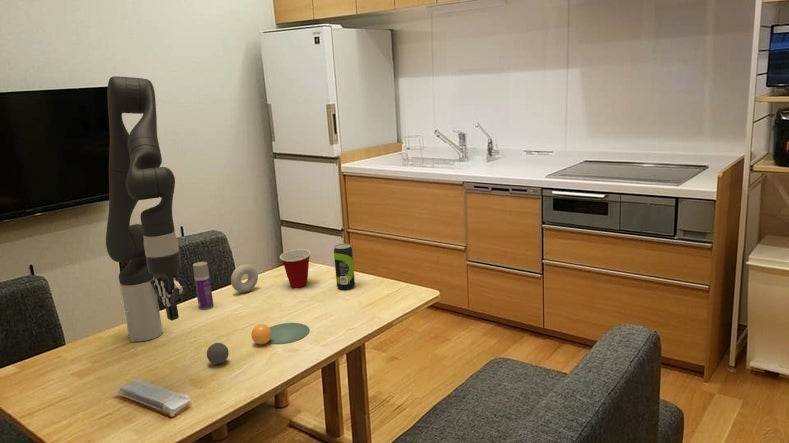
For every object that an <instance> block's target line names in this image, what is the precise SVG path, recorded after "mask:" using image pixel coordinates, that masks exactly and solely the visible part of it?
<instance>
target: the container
mask: <svg viewBox="0 0 789 443" xmlns="http://www.w3.org/2000/svg"><path fill="white" fill-rule="evenodd" d="M192 268H193V276H194V277H193V278H194V279H193V280H194V283H195V284H194V286H195V290H196V291H195V292H196V297H197V298H196V299H197V305H198V310H201V311H207V310H210V309H212V308H214V299H213V293H212V292H213V291H212V284H211V277H210V272H209V266H208V262H207V261H198V262H195V263H193V264H192Z"/></svg>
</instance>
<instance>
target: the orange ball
mask: <svg viewBox="0 0 789 443" xmlns="http://www.w3.org/2000/svg"><path fill="white" fill-rule="evenodd" d="M269 327H270V326H268V325H266V324H258V325H255V326H254V327H253V329H252V330H251V334H250V336H251V340H252V341H253V342H254V343H256V344H257V345H265V344H268V343H267V342H268V341H269V340H270V339H271V335H272V333H271V330H270V328H269Z"/></svg>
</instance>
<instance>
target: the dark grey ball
mask: <svg viewBox="0 0 789 443" xmlns="http://www.w3.org/2000/svg"><path fill="white" fill-rule="evenodd" d="M229 354H230V353H229V349H228V347H227V345H225V344H224V343H222V342H215V343H213V344H211V345H210V346H209V347H208V348H207V350H206V358H207V360H208V362H210V363H211V364H213V365H221V364H223V363H224V362H226V361H227V359H228V357H229Z"/></svg>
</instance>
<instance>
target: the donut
mask: <svg viewBox="0 0 789 443" xmlns="http://www.w3.org/2000/svg"><path fill="white" fill-rule="evenodd" d="M244 275H247V280H246V281H245V282H242V277H243V276H244ZM258 279H259V274H258V271H257V270H256V268H255V267H254V266H252V265H251V264H247V263H246V264H245V263H244V264H241V265H239V266H237V267H236V268H235V269H234V270H233V272H232V274H231V276H230V283H231V287H232V288H233V289H234V290H235V291H236V292H237V293H241V294H242V293H248V292H250V291H252V290H253V289H254V288H255V287H256V285H257V283H258Z"/></svg>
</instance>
